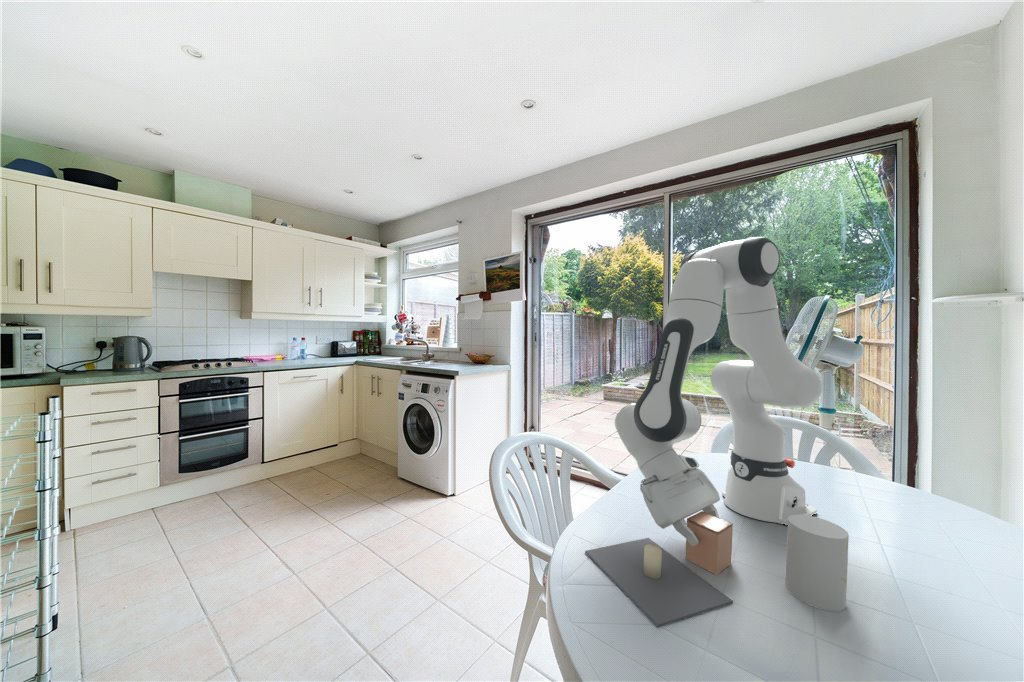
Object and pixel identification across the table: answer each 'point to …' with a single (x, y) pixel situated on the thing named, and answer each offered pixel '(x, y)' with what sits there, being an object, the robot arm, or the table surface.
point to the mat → (657, 581)
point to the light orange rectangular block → (710, 542)
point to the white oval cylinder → (817, 562)
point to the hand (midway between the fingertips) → (709, 537)
